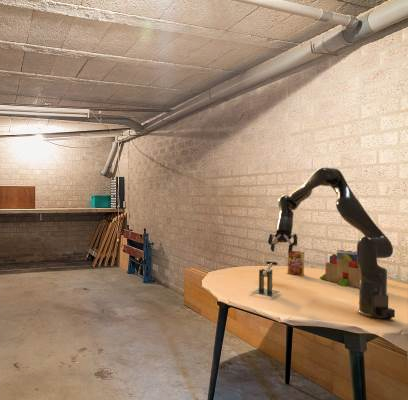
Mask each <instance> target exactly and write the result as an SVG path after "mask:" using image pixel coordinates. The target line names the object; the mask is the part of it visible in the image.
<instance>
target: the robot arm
mask: <svg viewBox="0 0 408 400" xmlns="http://www.w3.org/2000/svg"><path fill="white" fill-rule="evenodd" d="M320 186H321V187H331V188H332V189H333V191H334V192H335V194H336V200H335V207H336V210H337V211H338V213H339V215H340V216H341V218H342V219H343V220H344V221H345V222H346V223H347V224H349V225H350V226H352V227H353V228H354V229H356V230H358V231H359V232H360V233H361V234H362V235H363V236H362V237H360V238H359V240H358V241H357V244H356V251H357V260H358V267H359V270H360V280H359V288H358V291H359V292H358V297H359V298H358V313H359V314H360V315H361V316H364V317H369V318H372V319H387V320H391V319H393V318H395V316H396V309H393V308H391V307H389V295H388V293H387V292H388V270H387V269H386V268H385V267H383V266H380V265H379V264H378V259H388V258H390V257H391V256H392V255H393V253H394V247H393V244H392V242H391V241H390V239H389V238H388V237H387V236H386V234H385V233H383V231H382V230H381V229H380V228H379V227H378V225H377V224H376V223H375V222H374V220H373V219H372V217H371V216H370V215H369V214H368V212H367V211H366V210H365V208H364V206H363V205H362V203H361V202H360V201H359V200H358V198H357V197H356V195H355V194H354V193H353V191H352V189H351V188H350V186H349V184H348V182H347V180H346V178H345V177H344V175H343V173H342V172H341V170H339V169H338V168H335V167H319V168H318V169H317V170H315V171H314V172H313V173H312V174H311V175H310V176H309V177H308V178H307V180H306V181H304V183H303V184H302V185H300V186H299V187H298V188H297V189H295V190H294V191H292V192H291V193H290V195H286V194H282V195H281V196H280V197H279V199H278V202H277V203H278V210H279V216H278V221H277V225H276V226H277V227H276V232H275V234H273V233H270V234H269V236H268V240H267V243H268V245H269V246H270V250H271V252H272V253H274V252H275V248H276V245H278V244H279V243H281V244H282V243H284V244H286V243H288V250H287V252H288V251H289V252H291V251H292V250H293V248H294V246H295V247H297V246H298V235H297V234H296V233H294V234H292V233H293V227H294V215H295V214H294V211H295V210H297V209H298V208H299V206H300V205H301V203H302V202H304V201H305V200H307V199H308V198H310V197H311V195H312V193H313V190H314V189H315V188H318V187H320ZM291 239H292V240H293V242H292V241H291Z"/></svg>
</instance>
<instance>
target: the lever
mask: <svg viewBox="0 0 408 400" xmlns="http://www.w3.org/2000/svg"><path fill="white" fill-rule="evenodd" d="M265 264H266V265H268V266H267V267H266V269H264V271H263V272H262V273H263V277H264V278H267V271H269V270H271V268H272V266H277V265H278V262H277V261H268V260H267V261H266V262H265Z"/></svg>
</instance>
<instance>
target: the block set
mask: <svg viewBox="0 0 408 400" xmlns="http://www.w3.org/2000/svg"><path fill="white" fill-rule="evenodd" d="M324 272H325V273H324V274H322V275H321V276H320V277H319V279H320V280H324V281H328V282H333V283H336V284H338V285H339V286H342V287H347V286H349V287H352V288H357V289H359V280H360V270H359V267H358V260H357V254H353V253H347V252H340V253H337V252H336V254H335V253H333V254H331V255H329V262H325V271H324Z"/></svg>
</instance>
